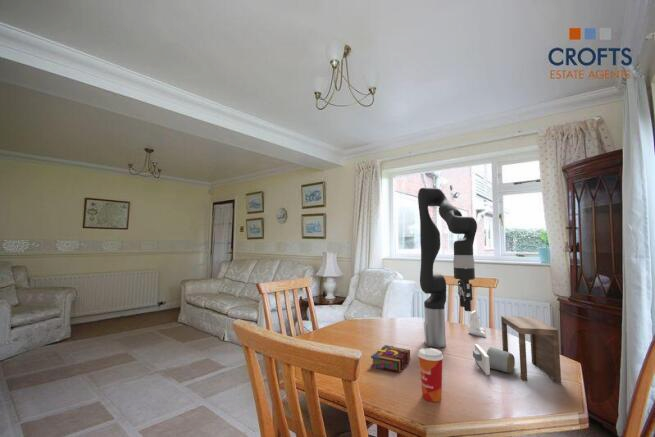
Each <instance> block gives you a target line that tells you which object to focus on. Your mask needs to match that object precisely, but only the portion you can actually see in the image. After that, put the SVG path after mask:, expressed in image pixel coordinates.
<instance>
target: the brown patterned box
mask: <svg viewBox="0 0 655 437" xmlns="http://www.w3.org/2000/svg"><path fill="white" fill-rule="evenodd" d="M370 359H372V364H371V365H370V366H371V368H372V369H374V370H376V369H378V370H381V369H382V370H384V371H385V370H386V371H390V372H395V373H400V371H401V370H402V371H403V370H404V368H405V366H406V365H409V363H410V361H411V350H410V349H406V348H401V347H397V346H396V347H394V346H393V345H388V344H384V345H383V346H382V347H381V348H380V349H377V352H375V353H373V354H371V356H370Z"/></svg>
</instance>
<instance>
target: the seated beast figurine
mask: <svg viewBox="0 0 655 437" xmlns="http://www.w3.org/2000/svg"><path fill="white" fill-rule="evenodd" d="M469 316H470V318H471V320H470V324H469V325H468V327H467V332H468V333H469V334H471V335H473V336H477V337H482V338H486V336H487V332H486V328H485V329H484V328H483V327H482V326H481V324H480V315H479V314H478V313H477V310H472V311H470V312H469Z"/></svg>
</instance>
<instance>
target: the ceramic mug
mask: <svg viewBox="0 0 655 437" xmlns="http://www.w3.org/2000/svg"><path fill="white" fill-rule="evenodd" d="M486 354H487V355H488V356H489V365H490V369H493V370H496V371H500V372H503V373H507V374H511V373H512V372H513V371H514V370H515V366H516V358H515V356H514V354H512V353H510V352H509V351H508V352H506V351H503V349H499V348H496V347H493V346H490V347H488V349H487V351H486Z"/></svg>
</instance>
